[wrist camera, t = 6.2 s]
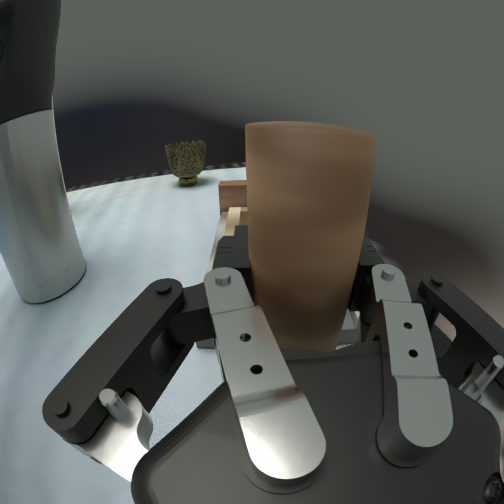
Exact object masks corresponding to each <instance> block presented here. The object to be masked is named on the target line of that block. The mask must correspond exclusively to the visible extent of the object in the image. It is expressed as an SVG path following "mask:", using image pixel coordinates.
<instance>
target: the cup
mask: <svg viewBox="0 0 504 504" xmlns="http://www.w3.org/2000/svg"><path fill="white" fill-rule="evenodd" d="M205 144H206V143H204V142H203V141H202V142H201V140H199V141H198V142H197V143H195V142H194V141H193V142H192V144H190V143H189V142H188V141H186V143H185V144H184V143H183V142H181V143H180V145H179V146H178V144H177V143H175V146H173V145H172V144H169V145H168V146H167V145H166V153H167V157H168V162H169V166H170V169H171V171H172V173H173V174H174V175H175V176H176V177H179V183H180V184H181V185H183V186H190V185H194V184H196V183H197V181H198V177H197V175H198V174H200V173H201V171H202V170H203V167H204V160H205Z"/></svg>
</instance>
